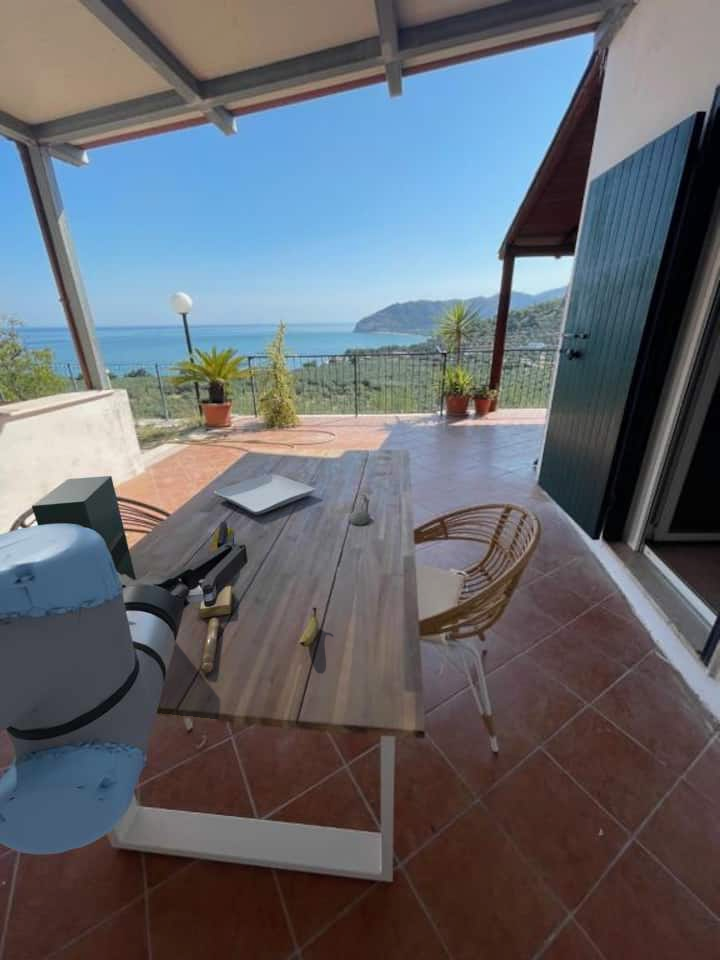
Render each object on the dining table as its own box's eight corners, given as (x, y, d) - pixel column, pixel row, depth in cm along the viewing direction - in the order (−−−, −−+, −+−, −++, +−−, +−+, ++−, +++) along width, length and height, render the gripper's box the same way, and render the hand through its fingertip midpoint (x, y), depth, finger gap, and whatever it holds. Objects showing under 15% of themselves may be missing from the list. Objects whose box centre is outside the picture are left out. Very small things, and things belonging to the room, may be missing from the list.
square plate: (213, 500, 145) (212, 490, 144) (272, 481, 164) (272, 472, 163) (256, 521, 128) (255, 510, 127) (317, 496, 148) (316, 487, 146)
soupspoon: (348, 526, 126) (368, 528, 125) (348, 517, 124) (368, 519, 124) (356, 498, 146) (373, 499, 145) (356, 490, 145) (374, 491, 144)
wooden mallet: (189, 679, 69) (187, 668, 68) (205, 598, 90) (203, 589, 89) (224, 672, 70) (223, 662, 69) (232, 594, 92) (231, 585, 91)
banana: (309, 659, 73) (308, 642, 71) (297, 658, 73) (295, 641, 72) (321, 622, 82) (320, 607, 81) (310, 621, 83) (309, 606, 81)
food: (216, 542, 115) (213, 524, 113) (236, 540, 116) (233, 522, 114) (206, 583, 96) (203, 562, 94) (230, 580, 97) (227, 559, 95)
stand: (76, 645, 77) (31, 505, 66) (101, 601, 89) (67, 479, 79) (121, 637, 78) (84, 501, 68) (140, 595, 91) (111, 475, 81)
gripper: (264, 586, 38) (261, 503, 58) (-40, 630, 33) (70, 521, 52) (270, 646, 41) (266, 547, 60) (-11, 697, 35) (84, 570, 54)
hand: (175, 535), depth 56 cm, fingers open, 13 cm apart
